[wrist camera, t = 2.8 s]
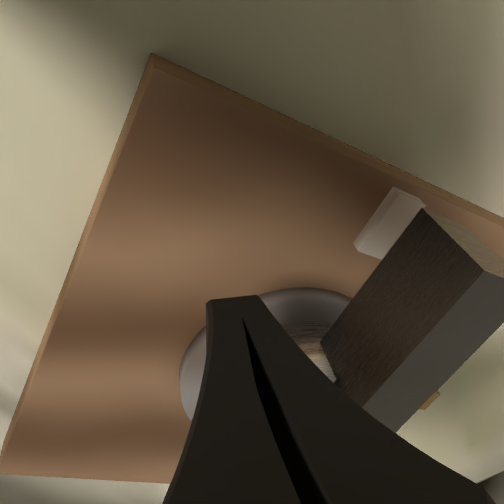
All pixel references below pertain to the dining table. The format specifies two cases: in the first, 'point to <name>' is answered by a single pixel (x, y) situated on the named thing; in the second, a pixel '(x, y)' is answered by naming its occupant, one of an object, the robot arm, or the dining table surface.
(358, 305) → the steel cap
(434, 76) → the dining table surface
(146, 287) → the post base
